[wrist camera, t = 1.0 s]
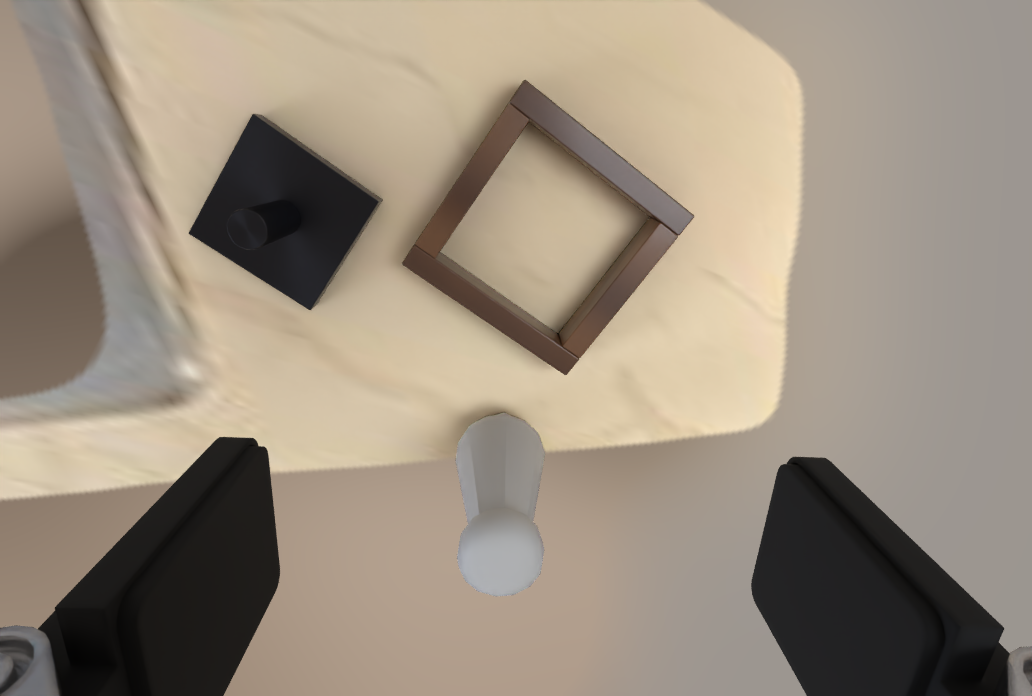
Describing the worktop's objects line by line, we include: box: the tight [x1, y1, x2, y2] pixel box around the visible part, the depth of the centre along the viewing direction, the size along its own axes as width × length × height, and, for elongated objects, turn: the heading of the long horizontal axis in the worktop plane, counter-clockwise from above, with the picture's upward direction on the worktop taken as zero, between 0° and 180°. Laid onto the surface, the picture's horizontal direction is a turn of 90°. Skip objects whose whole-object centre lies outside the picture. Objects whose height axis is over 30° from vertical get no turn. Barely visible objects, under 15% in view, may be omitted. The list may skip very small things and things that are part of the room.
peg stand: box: [189, 114, 382, 310], centre depth 31 cm, size 8×8×6 cm
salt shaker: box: [456, 412, 545, 596], centre depth 34 cm, size 6×6×13 cm
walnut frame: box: [402, 80, 694, 375], centre depth 34 cm, size 12×12×2 cm
